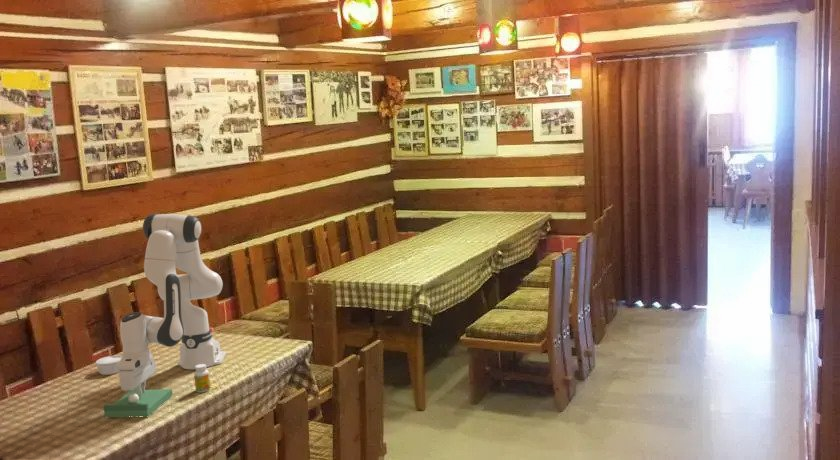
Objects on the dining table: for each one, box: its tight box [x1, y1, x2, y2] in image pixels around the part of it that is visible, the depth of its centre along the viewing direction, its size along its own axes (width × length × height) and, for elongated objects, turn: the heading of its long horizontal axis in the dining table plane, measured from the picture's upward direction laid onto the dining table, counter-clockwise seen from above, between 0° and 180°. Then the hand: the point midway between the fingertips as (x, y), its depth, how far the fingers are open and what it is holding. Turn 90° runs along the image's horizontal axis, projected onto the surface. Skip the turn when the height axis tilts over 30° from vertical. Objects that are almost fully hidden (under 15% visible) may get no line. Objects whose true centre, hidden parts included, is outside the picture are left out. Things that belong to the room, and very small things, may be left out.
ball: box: [128, 394, 139, 404], centre depth 273 cm, size 4×4×4 cm
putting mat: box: [103, 388, 174, 419], centre depth 277 cm, size 20×16×4 cm
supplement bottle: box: [193, 364, 211, 393], centre depth 289 cm, size 5×5×10 cm
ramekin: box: [95, 355, 123, 376], centre depth 319 cm, size 11×11×5 cm
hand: (141, 394), depth 279 cm, fingers closed
